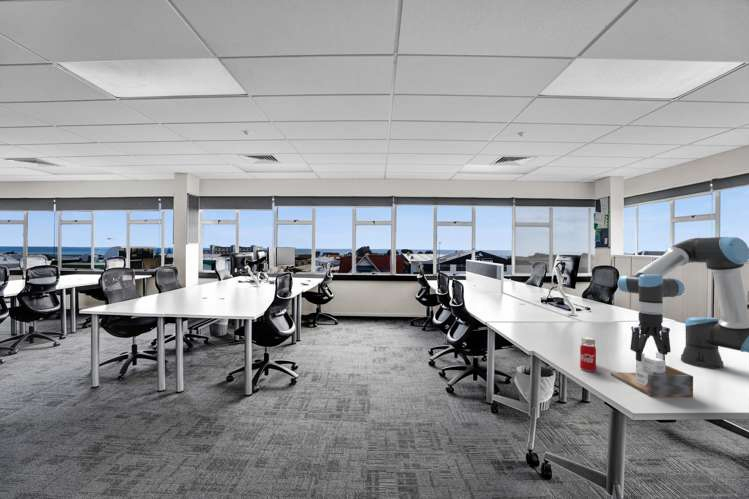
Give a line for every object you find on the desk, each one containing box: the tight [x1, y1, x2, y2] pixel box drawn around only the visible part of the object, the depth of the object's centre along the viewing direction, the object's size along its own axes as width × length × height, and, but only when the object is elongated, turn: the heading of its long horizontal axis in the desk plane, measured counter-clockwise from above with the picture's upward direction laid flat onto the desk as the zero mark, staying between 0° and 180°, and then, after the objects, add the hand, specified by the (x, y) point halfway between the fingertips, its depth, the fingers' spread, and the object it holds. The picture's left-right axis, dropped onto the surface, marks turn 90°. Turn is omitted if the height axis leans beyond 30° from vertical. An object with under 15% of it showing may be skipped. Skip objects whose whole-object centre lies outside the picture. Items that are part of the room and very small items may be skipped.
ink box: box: [635, 354, 666, 387], centre depth 133 cm, size 8×5×12 cm, turn 11°
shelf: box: [610, 364, 694, 399], centre depth 137 cm, size 16×22×8 cm
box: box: [581, 336, 596, 346], centre depth 162 cm, size 5×4×13 cm
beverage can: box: [579, 342, 597, 373], centre depth 154 cm, size 6×6×12 cm
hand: (650, 369), depth 133 cm, fingers open, 7 cm apart
